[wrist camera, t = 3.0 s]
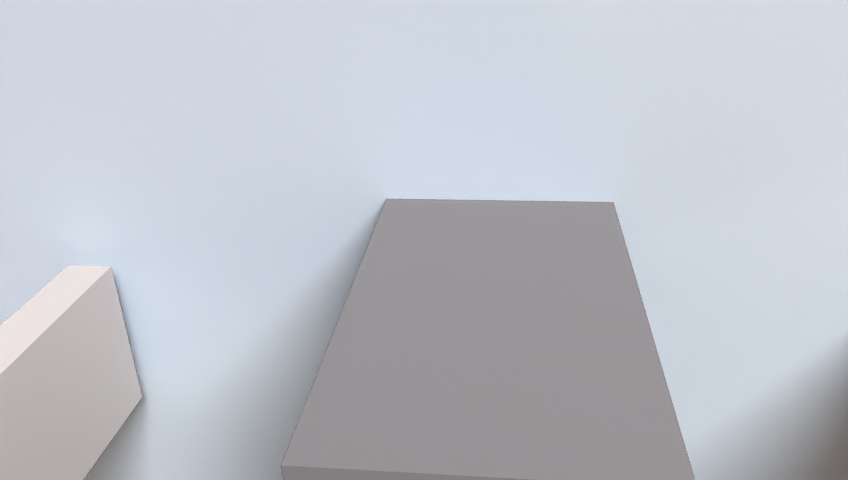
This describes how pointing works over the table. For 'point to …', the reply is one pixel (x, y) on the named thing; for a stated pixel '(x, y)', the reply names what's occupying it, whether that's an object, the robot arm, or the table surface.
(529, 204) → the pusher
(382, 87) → the table surface
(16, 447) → the robot arm
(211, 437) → the table surface
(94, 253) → the table surface
